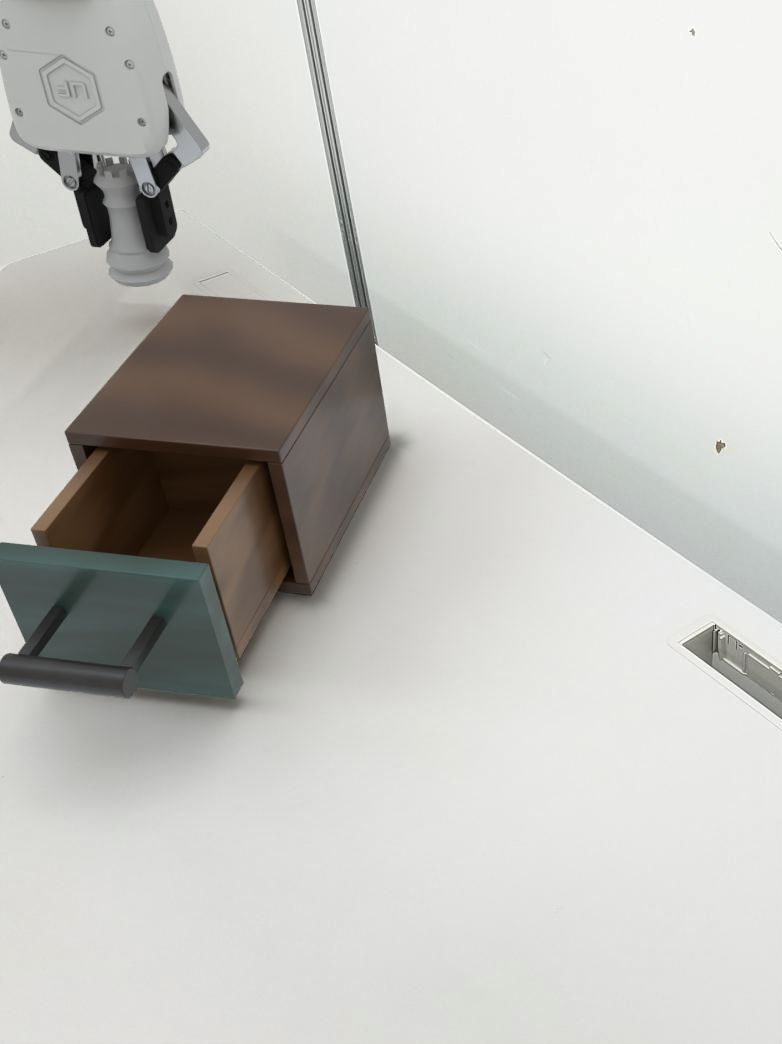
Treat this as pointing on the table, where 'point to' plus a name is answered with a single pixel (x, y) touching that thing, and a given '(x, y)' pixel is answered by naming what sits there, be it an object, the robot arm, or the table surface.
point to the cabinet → (257, 408)
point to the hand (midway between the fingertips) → (133, 239)
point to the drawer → (145, 576)
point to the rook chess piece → (128, 229)
